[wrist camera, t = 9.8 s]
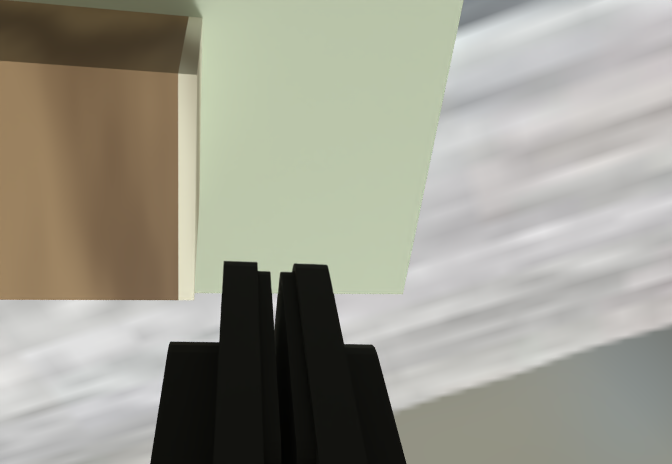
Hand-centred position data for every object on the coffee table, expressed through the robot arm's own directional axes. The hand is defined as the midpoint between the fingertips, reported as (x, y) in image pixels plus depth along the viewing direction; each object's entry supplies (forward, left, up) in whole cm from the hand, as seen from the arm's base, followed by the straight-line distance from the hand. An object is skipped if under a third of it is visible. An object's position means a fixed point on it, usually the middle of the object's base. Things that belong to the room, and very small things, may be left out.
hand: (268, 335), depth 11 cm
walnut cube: (+1, 0, -9) cm, 9 cm away
